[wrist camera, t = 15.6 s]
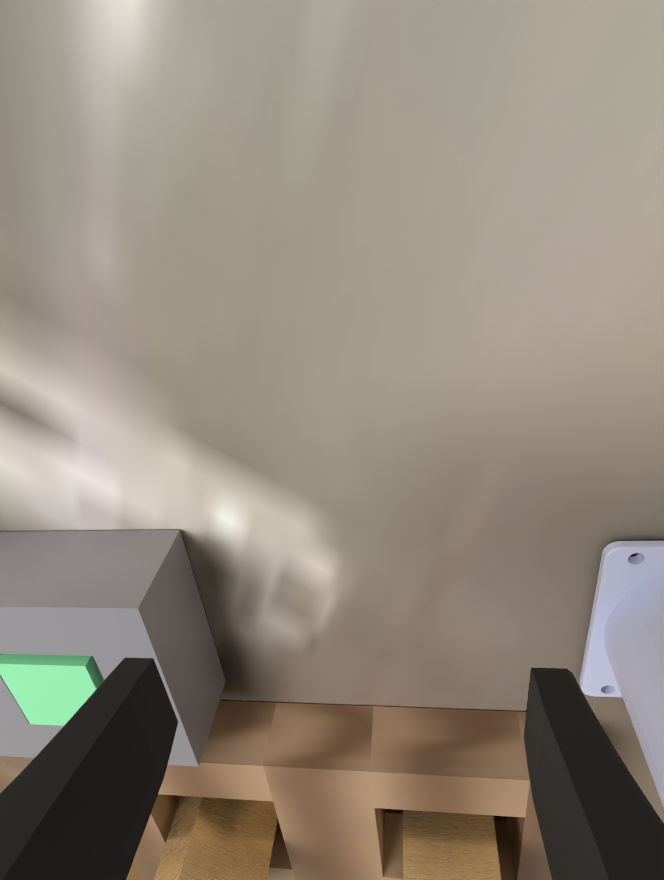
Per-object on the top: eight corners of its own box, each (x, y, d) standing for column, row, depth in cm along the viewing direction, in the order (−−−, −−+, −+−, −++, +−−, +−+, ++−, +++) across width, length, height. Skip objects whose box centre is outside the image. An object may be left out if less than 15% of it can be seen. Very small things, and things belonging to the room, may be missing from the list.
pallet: (573, 713, 25) (593, 783, 22) (549, 850, 31) (562, 918, 28) (104, 696, 28) (73, 755, 25) (164, 822, 34) (145, 881, 31)
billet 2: (486, 760, 27) (509, 945, 21) (483, 805, 29) (504, 985, 23) (403, 756, 28) (403, 934, 22) (405, 800, 30) (406, 975, 24)
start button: (121, 602, 22) (85, 666, 20) (145, 662, 24) (114, 728, 22) (39, 601, 23) (-7, 663, 20) (69, 660, 25) (30, 724, 22)
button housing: (179, 529, 22) (137, 608, 18) (225, 680, 26) (198, 766, 23) (-28, 531, 23) (-103, 605, 20) (49, 675, 27) (-1, 755, 24)
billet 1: (286, 770, 30) (256, 939, 24) (252, 800, 31) (216, 963, 25) (219, 740, 29) (170, 906, 23) (188, 772, 31) (136, 933, 25)
